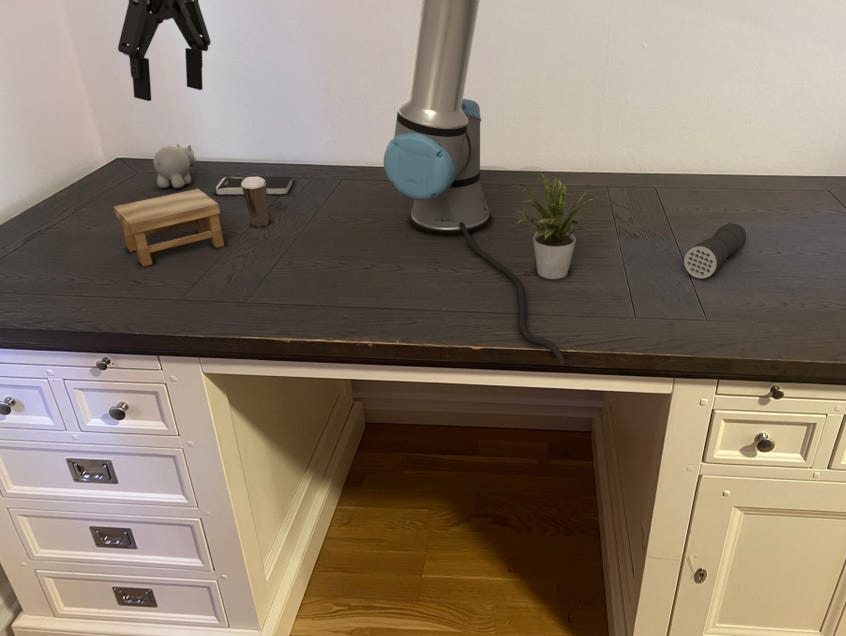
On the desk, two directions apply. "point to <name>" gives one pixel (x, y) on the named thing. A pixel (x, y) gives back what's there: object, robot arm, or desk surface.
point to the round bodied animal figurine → (174, 165)
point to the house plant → (553, 233)
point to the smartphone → (272, 183)
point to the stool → (169, 221)
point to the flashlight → (714, 250)
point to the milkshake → (256, 200)
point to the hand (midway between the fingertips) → (169, 93)
